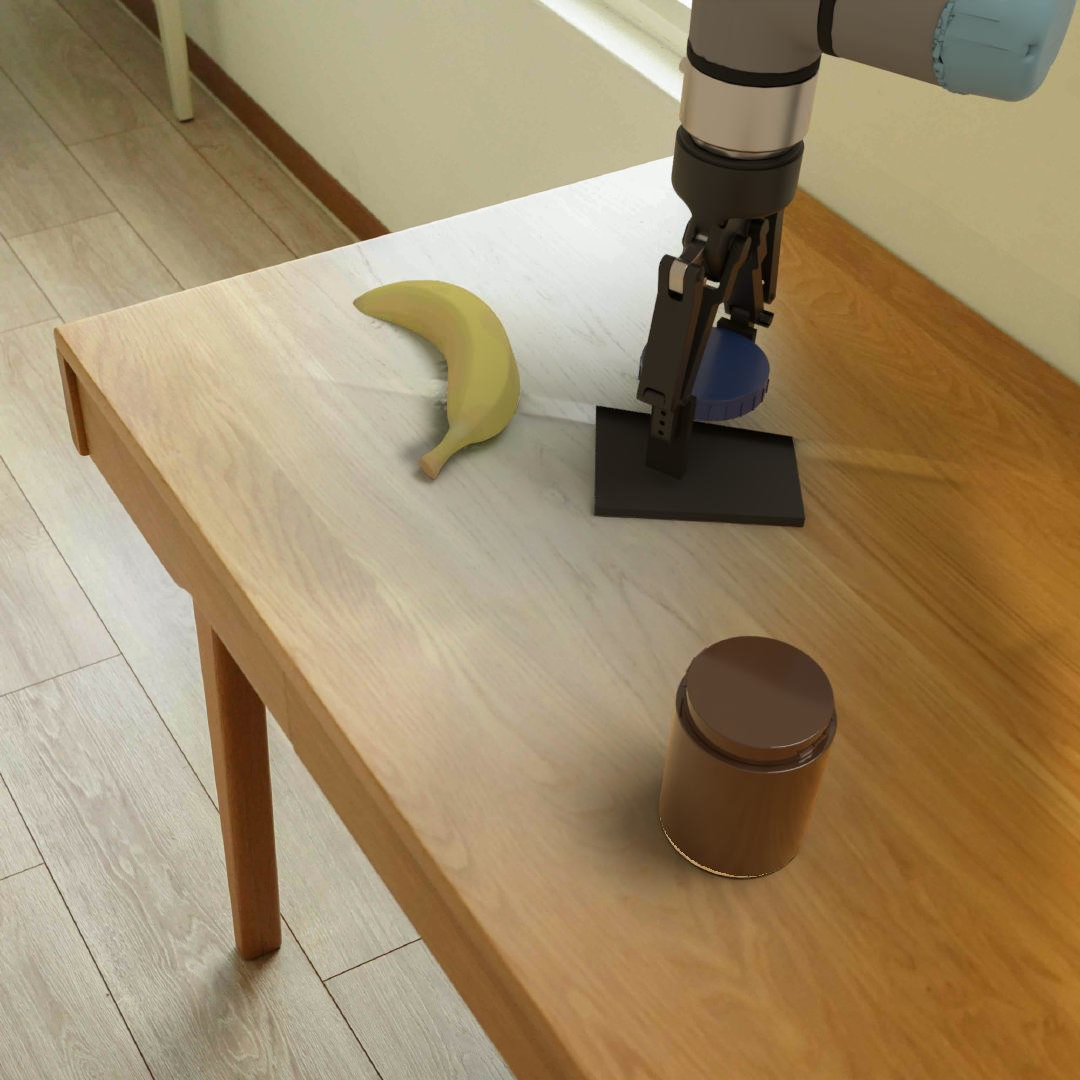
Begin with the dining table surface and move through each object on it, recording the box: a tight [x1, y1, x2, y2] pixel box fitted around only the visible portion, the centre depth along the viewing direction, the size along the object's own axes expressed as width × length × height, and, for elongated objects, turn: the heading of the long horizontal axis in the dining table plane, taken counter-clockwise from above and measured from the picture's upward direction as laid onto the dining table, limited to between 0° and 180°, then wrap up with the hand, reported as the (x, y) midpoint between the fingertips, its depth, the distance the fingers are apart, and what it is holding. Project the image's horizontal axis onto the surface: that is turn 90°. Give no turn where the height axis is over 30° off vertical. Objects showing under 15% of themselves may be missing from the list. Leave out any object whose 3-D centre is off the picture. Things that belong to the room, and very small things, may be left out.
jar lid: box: [637, 326, 771, 422], centre depth 90 cm, size 9×9×2 cm
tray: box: [593, 404, 806, 527], centre depth 95 cm, size 14×14×1 cm
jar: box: [658, 635, 838, 877], centre depth 69 cm, size 8×8×10 cm
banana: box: [352, 279, 521, 480], centre depth 98 cm, size 14×6×20 cm
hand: (695, 434), depth 94 cm, fingers closed on jar lid, 8 cm apart
